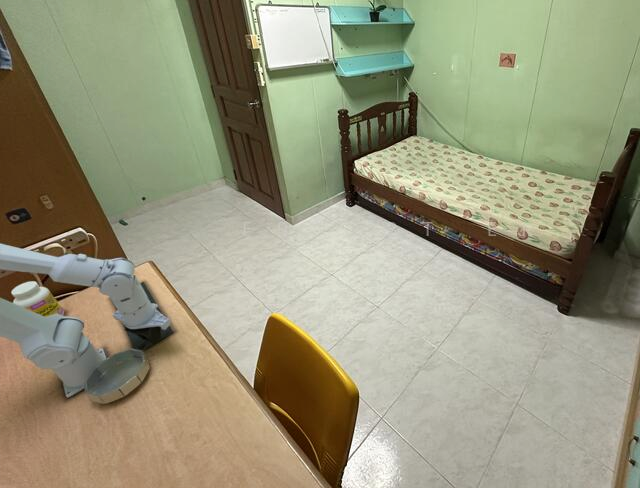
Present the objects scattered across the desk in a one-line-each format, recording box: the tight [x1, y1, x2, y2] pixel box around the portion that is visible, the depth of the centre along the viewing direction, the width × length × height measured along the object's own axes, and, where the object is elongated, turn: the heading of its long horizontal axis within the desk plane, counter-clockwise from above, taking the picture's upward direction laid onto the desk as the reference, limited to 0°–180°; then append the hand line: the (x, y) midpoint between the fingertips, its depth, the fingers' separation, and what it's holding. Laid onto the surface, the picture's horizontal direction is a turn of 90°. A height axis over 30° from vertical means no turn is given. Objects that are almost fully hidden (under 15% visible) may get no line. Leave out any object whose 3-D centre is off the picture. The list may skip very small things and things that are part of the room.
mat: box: [114, 281, 175, 352], centre depth 91 cm, size 28×8×1 cm, turn 50°
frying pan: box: [84, 328, 162, 405], centre depth 77 cm, size 19×11×4 cm, turn 171°
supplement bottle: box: [10, 280, 65, 317], centre depth 86 cm, size 7×7×13 cm
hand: (154, 339), depth 82 cm, fingers closed on frying pan
